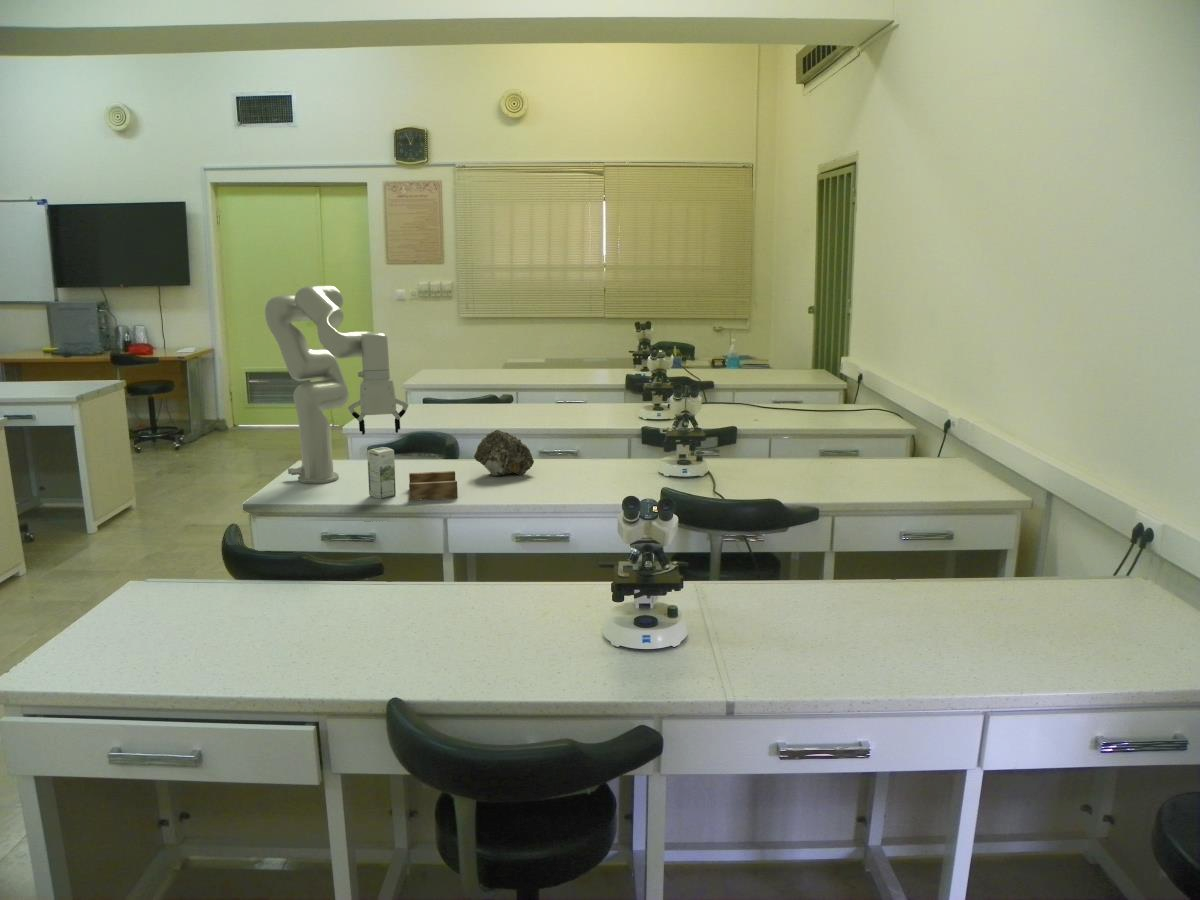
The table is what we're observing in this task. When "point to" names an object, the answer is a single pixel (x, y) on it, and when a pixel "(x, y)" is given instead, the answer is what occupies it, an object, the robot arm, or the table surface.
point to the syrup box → (381, 472)
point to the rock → (503, 454)
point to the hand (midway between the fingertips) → (380, 432)
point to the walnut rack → (432, 485)
